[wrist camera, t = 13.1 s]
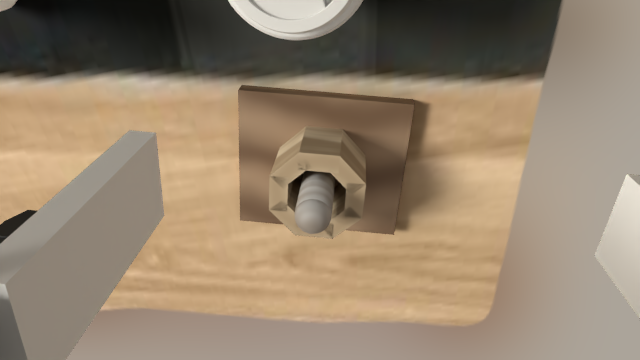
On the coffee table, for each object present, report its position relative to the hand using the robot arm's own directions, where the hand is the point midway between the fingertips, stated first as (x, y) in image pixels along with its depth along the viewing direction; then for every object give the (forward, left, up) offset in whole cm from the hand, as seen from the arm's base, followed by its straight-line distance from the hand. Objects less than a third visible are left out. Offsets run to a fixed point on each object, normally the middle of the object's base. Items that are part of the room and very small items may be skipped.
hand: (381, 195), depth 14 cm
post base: (+14, -3, -32) cm, 35 cm away
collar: (+14, -3, -30) cm, 33 cm away
